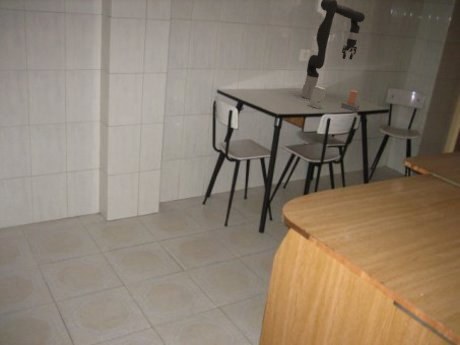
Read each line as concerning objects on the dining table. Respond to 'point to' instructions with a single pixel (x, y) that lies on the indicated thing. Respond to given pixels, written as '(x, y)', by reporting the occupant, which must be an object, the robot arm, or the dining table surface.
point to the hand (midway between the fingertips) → (347, 59)
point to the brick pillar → (352, 97)
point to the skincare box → (317, 97)
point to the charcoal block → (350, 106)
